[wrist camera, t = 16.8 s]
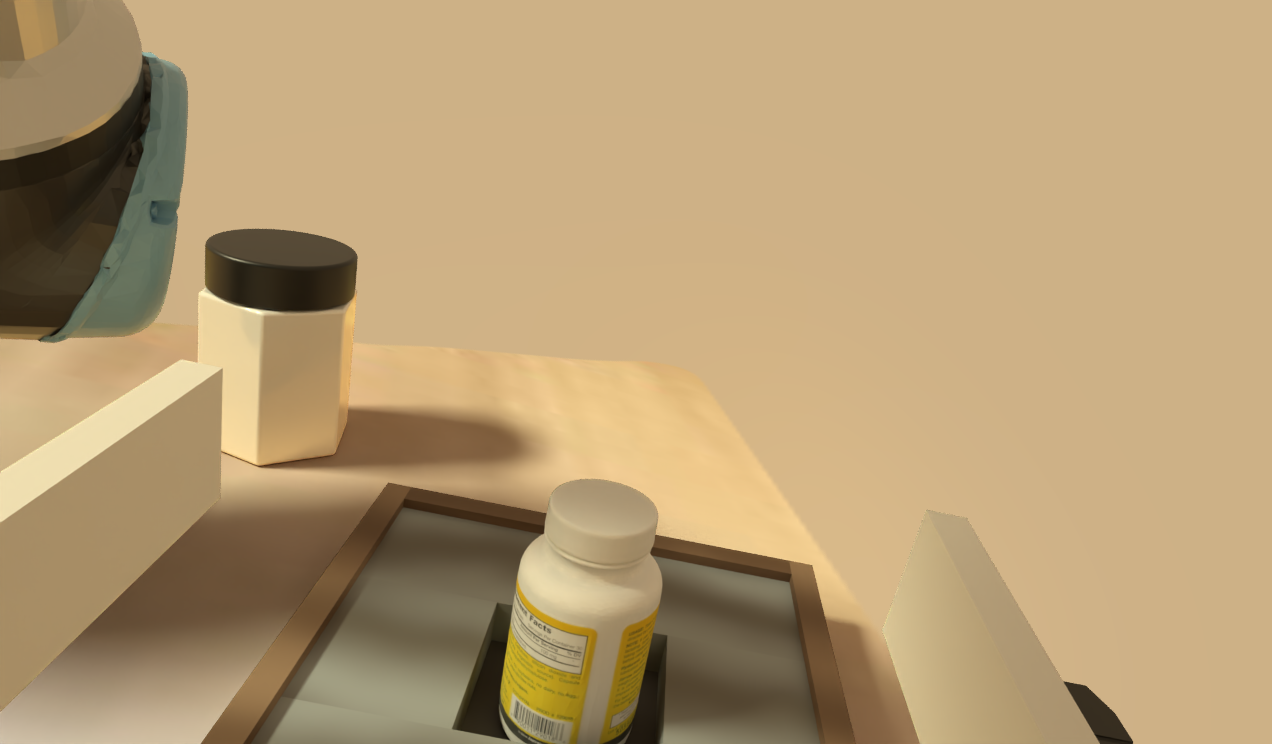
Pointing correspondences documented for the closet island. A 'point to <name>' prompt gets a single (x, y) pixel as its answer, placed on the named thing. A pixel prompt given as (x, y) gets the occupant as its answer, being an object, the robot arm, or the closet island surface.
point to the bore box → (479, 627)
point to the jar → (279, 340)
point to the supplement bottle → (582, 618)
